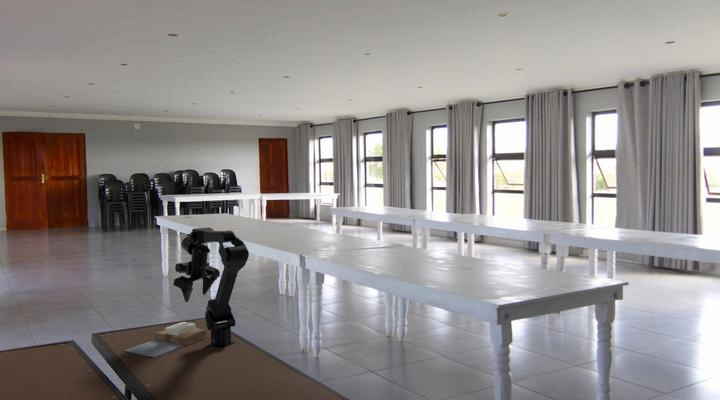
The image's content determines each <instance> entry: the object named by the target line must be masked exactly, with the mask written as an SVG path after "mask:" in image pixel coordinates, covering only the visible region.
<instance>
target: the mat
mask: <svg viewBox="0 0 720 400" xmlns="http://www.w3.org/2000/svg"><path fill="white" fill-rule="evenodd" d="M183 347H184V346H183V345H179V344H174V343H169V342H163V341H158V340H155V339H153V340H150V341H146V342H144V343H142V344H141V343H140V344H139V345H136V346H133V347H130V348H128V349H124V351H125V352H127V353H129V354H130V353H131V354H136V355H141V356H145V357H149V358H154V359H155V358H157V357H161V356H163V355H165V354H168V353H170V352H173V351H176V350H179V349H181V348H183Z"/></svg>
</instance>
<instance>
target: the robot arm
mask: <svg viewBox="0 0 720 400" xmlns="http://www.w3.org/2000/svg"><path fill="white" fill-rule="evenodd" d="M211 243H218V244H219V247H218V250H217V251H218V254H219V256H220V260H221V263H222V266H223V270H222V274H221V271H220V270H219V269H218V268H216V267H214V266H211V265H210V263H209V262H208V258H209V257H208V255H209V253H211V249H210V248H209V247H208V245H205V244H211ZM226 243H230V244H231V245H232V246H226V247H225V246H224V244H226ZM181 248H182V249H183V250H184V251H185V252H186V253H187V254H189V255H190V256H191V257H190V258H191V259H190V261H186V262H178V263H176V264H175V266H174V267H175V268H174V269H175V272H176V273H179V274H185V275H186V276H189V277H186V276H184V275H181V276H179V277H176V278H174V279H173V286H174V287H176V288H179V289H180V290H181V292H182V296H183V299H184V302H185V303H189V300H190V298H191V295H192V292H193V289H194V287H193V286H194V283H195V282H197V281H200V280H202V295H204V296H205V295H206V294H207V293H208V291H209V290H210V288H211V286H212V285H213V284H214V283H215V282H216V280H217V279H218V278H220V281H219V284H218V286H217V291H216V294H215V298H212V299H209V300H208V302H207V305H206V307H205V309H206V310H205V313H204V319H205V325H206V328H207V331H210V342H211V343H209V344H208V346H209V347H210V346H211V347H215V348H220V349H223V348H226V347H228V346H230V345H233V344H235V341H233V340H232V327H236V319H235V317H234V315H233V313H232V307H231V305H230V301H231V297H232V294H233V291H234V287H235V283H236V281H237V277H238V274H239V272H240V270H242V269H243V268H244V267H245V266H246V264H247V262H248V258H249V255H250V252H249V249H248V248H247V246H246V244H245V243H244V241H243V240H241V239H240V238H239V237H237V236H236V234H235V232H234V231H233V230H214V229H213V228H211V227H210V226H209V227H197V228H192V229H191V232H190V233H187V234H186V237H184V238H183V239H182V241H181ZM220 275H221V276H220Z"/></svg>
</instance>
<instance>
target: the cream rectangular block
mask: <svg viewBox="0 0 720 400" xmlns="http://www.w3.org/2000/svg"><path fill="white" fill-rule="evenodd" d="M196 325H197V324H196V323H193V322H189V321H188V322H187V321H182V322H179V323H175V324H173V325H170V326H167V327H164V330H165V334H171V335H176V336H178V335H181V334H184V333H186V332H189V331H192V330H195V329H196V328H197V327H196Z"/></svg>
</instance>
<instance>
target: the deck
mask: <svg viewBox="0 0 720 400" xmlns="http://www.w3.org/2000/svg"><path fill="white" fill-rule="evenodd" d="M205 339H207V330H206V329H203V328H198V327H196V329H195V330H192V331H189V332H186V333H184V334H181V335H178V336H176V335H171V334H165V329H161V330H160V331H159V330H158V331H155V333H154V340H158V341H163V342H169V343H174V344H179V345H183V347H186V346H188V345H189V346H190V345H191V344H194V343H196V342H199V341H201V340H205Z"/></svg>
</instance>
